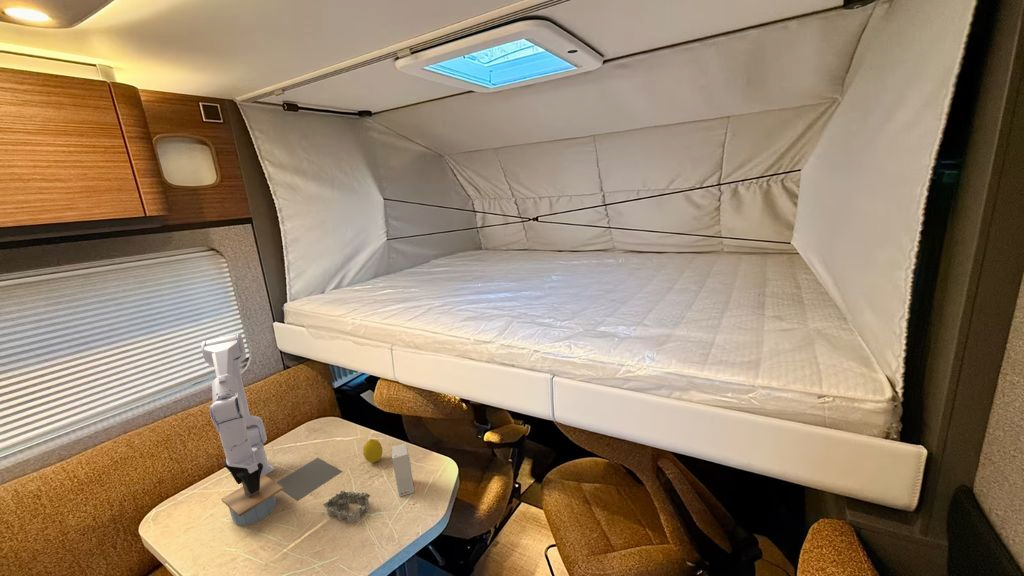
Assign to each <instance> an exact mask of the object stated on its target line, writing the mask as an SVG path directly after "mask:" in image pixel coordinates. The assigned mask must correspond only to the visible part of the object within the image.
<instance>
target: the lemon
mask: <svg viewBox="0 0 1024 576" xmlns="http://www.w3.org/2000/svg"><path fill="white" fill-rule="evenodd" d="M363 456H364V459H365V460H366V461H367V462H369V463H371V464H372V463H373V464H375V463H378V461H380V460H381V458H382V456H383V447H382V444H381V442H380V441H379V440H377V439H375V438H373V439H369V440H367V441H366V443H365V444H364V446H363Z"/></svg>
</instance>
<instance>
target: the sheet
mask: <svg viewBox="0 0 1024 576" xmlns="http://www.w3.org/2000/svg"><path fill="white" fill-rule="evenodd" d="M276 482H277V481H275V480H273V479H271V478H270V477H268V476H267V475H263V476H261V477H260V489H259V490H258V491H256V492H255V493H253V494H251V493H250V492H249V491H248V489H247V487H246V485H245V483H244V482H243V481H242V483H241V484H242V487H240V488H238V489H237V490H235V491H233V492H231V493H229V494H228V495H225V496H224V497H222V498H220V499H221V502H222V503H223V504H225V505H226V507H228V509H229V508H230V509H232V510H233V511H234V512H235V513H236V514H237V515H238V516H241V515H243V514H245V513H246V512H248V511H249V510H251V509H253V508H254V507H256V506H258V505H259V504H261V503H262V502H264V501H266V500H267V499H269V498H270V497H272V496H274V495H275V496H276V495H277V494H279V493H281V492H283V491H282V490H283V487H282V486H280V485H279V484H277V483H276Z"/></svg>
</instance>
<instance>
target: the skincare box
mask: <svg viewBox="0 0 1024 576" xmlns="http://www.w3.org/2000/svg"><path fill="white" fill-rule="evenodd" d="M391 456H392V457H391V458H392V465H393V471H394V477H395V482H396V489H397V493H398V497H403V496H407V495H410V494H414V493H415V488H414V478H413V473H412V466H411V460H410V455H409V448H408V443H402V444H401V443H400V444H397V445H393V446H391Z"/></svg>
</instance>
